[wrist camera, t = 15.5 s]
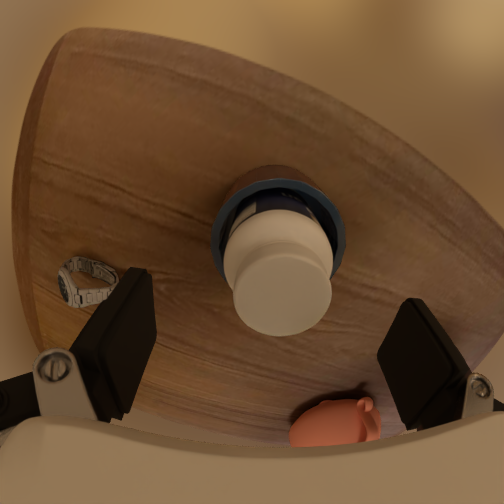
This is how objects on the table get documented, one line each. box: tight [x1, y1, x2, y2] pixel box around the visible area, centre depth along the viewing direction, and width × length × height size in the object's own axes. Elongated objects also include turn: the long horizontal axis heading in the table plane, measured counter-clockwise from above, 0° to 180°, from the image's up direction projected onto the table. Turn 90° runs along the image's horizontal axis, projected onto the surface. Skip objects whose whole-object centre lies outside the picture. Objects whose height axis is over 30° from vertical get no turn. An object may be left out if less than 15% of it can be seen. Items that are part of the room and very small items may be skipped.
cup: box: [210, 165, 346, 283], centre depth 18 cm, size 8×8×6 cm
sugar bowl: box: [289, 397, 381, 447], centre depth 27 cm, size 12×14×10 cm
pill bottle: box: [224, 187, 333, 336], centre depth 15 cm, size 5×5×10 cm
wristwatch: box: [58, 256, 119, 308], centre depth 21 cm, size 4×6×5 cm, turn 74°
